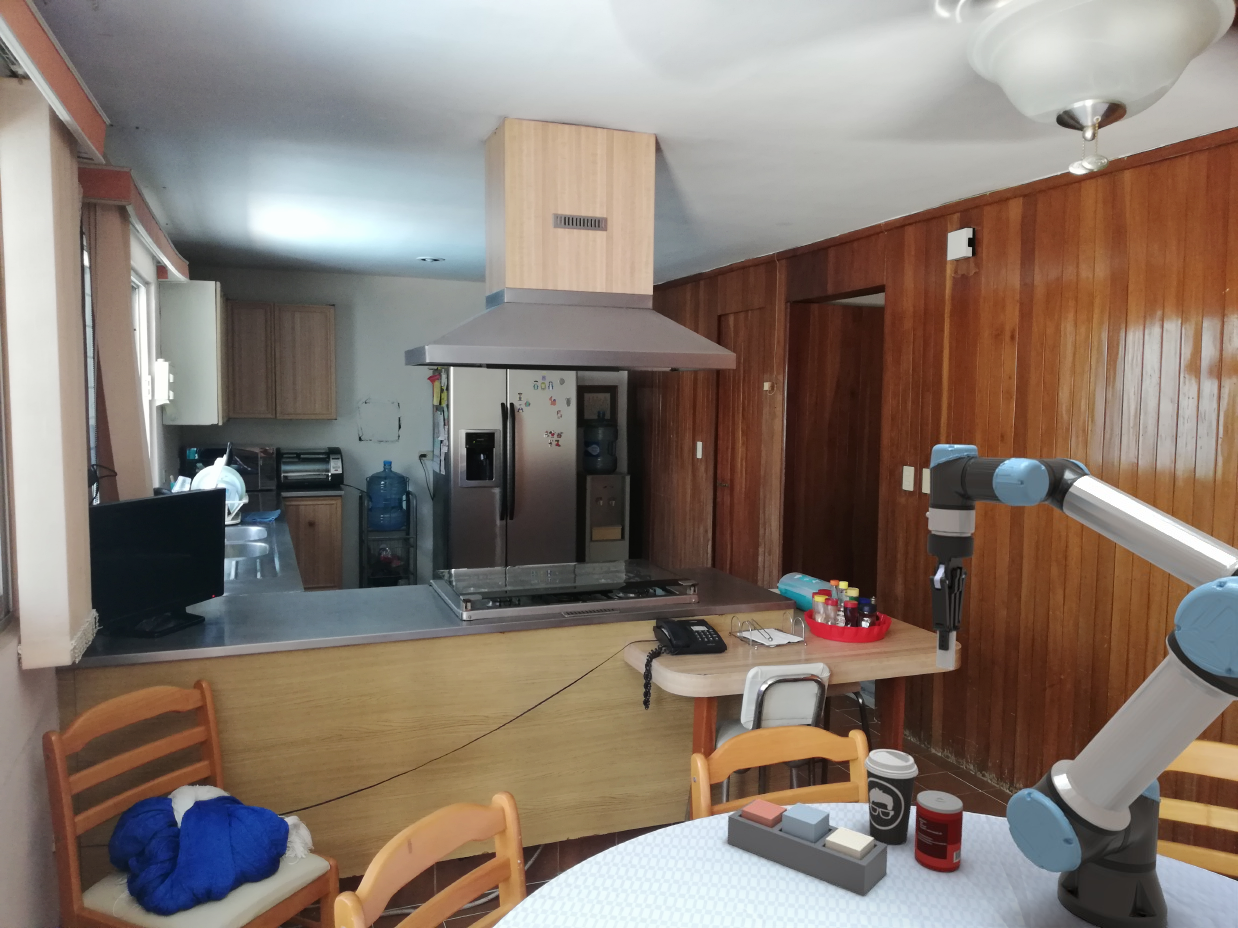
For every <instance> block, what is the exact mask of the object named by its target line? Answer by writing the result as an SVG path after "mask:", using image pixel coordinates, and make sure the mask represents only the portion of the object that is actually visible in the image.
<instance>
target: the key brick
mask: <svg viewBox="0 0 1238 928" xmlns="http://www.w3.org/2000/svg"><path fill="white" fill-rule="evenodd" d="M754 800H755V801H754V802H752V801H751V802H752V803H751V804H749V805H747V804H746V805H747V806H746V807H744V806H743V807H744V808H743V809H742V812H741V817H742V818H744V819H747V820H750V821H753V822H755V823H758V824H761V825H764V826H767V827H769V828H773V827H775V826H776V825H777V824H779V823H780V822H782V814H783V813H784V812H786V811H787V810H788V808H787V807H784V806H781V805H779V804H776V803H772V802H769V801H767V800H764V799H761V798H757V799H754Z"/></svg>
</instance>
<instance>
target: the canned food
mask: <svg viewBox="0 0 1238 928" xmlns="http://www.w3.org/2000/svg"><path fill="white" fill-rule="evenodd" d="M963 806H964V804H963V801H962V800H961V799H960V798H959V797H957V796H955V795H953V794H951V793H947V792H944V791H940V790H939V791H938V790H923V791H920V792H919V793H918V794H917V796H916V805H915V807H916V808H915V824H914V825H915V827H914V828H915V829H914V831H915V833H914V855H915V859H916V861H917V862H918V863H919V864H920V865H921V866H923V867H924V868H927V869H929V870H932V871H936V872H942V873H943V872H944V873H946V872H953V871H956V870H958V868H959V867H960V864H961V860H962V857H961V856H962V840H963V839H962V837H963V818H964V817H963V816H964V807H963Z"/></svg>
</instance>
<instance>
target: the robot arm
mask: <svg viewBox="0 0 1238 928" xmlns="http://www.w3.org/2000/svg"><path fill="white" fill-rule="evenodd" d="M978 453H979V452H978V447H977V446H976V445H972V444H969V445H968V444H945V443H944V444H936V445H935V446H933V448H932V450H931V456H930V465H929V469H928V470H929V503H928V511H927V512H926V513H925V517H926V518H928V520H927V521H928V523H927V524H928V527H927V529H928V530H929V531H931V532H929V533H928V534H927V538H926V539H927V541H926V552H927V554H929V555H931V556H935V557H936V559H937V560H936V564H935V566H934V570H933V575H930V576H929V584H930V589H931V614H932V617H931V618H932V626H931V630H932V631H936V633H937V634H936V655H935V656H936V657H935V660H936V661H935V668H940V669H943V670H944V669H945V670H950V671H952V670H954V669H955V665H956V662H955V661H956V644H957V643H956V642H957V641H956V640H957V631H958V632H962V630H963V628H962V626H960V625H961V623H962V614H963V612H962V611H963V604H964V597H965V596H964V595H965V587H966V582H967V581H966V580H967V576H968V570H967V569H965V567H964V565H963V559H969V558H972V557H973V556H974V551H975V549H974V547H975V546H974V545H975V537H974V536H973V535H972V534H973V533H974V532H976V531H975V530H976V529H975V527H976V525H975V524H976V502H982V503H983V502H984V503H992V504H998V505H999V504H1001V505H1009V506H1011V507H1016V506H1017V507H1024V506H1026V507H1032V506H1036V505H1038V504H1046V505H1049V506H1050V507H1052V508H1054V509H1056V510H1058V511H1059V512H1060V513H1063V514H1065V515H1067V516H1068V517H1071V518H1072V519H1074V520H1075V521H1078V522H1080V523H1081V524H1082V525H1085V526H1086V527H1088V528H1090V529H1091V530H1093V531H1095V532H1097V533H1098V534H1100V535H1102V536H1104V537H1106V538H1107V539H1108V540H1111V541H1112V542H1114V543H1116V544H1118V545H1120V546H1121V547H1123V548H1124V549H1126V550H1128V551H1130V552H1131V553H1133V554H1135V555H1137V556H1139V557H1140V558H1142V559H1144V560H1146V561H1148V562H1149V563H1151V564H1153V565H1154V566H1156V567H1158V568H1159V569H1162V570H1163V571H1165V572H1167V573H1169V574H1170V575H1172V576H1173V577H1176V578H1177V579H1179V580H1181V581H1183V582H1184V583H1186V584H1188V585H1189V586H1191V587H1192V588H1194V589H1192V590H1191V591H1190V592H1188V594H1186V596H1185V597H1184V598H1183V599H1182V600H1181V602H1180V603H1179V605H1178V607H1177V609H1176V612H1175V615H1174V621H1173V622H1174V625H1175V626H1174V628H1173V629H1172V630H1171V631H1170V632H1169V634H1168V635H1167V636H1166V638H1165V643H1166V647H1167V650H1168V655H1166V657H1165V658H1164V659H1163V660H1162V661H1161V663H1160V664H1159V665H1158V666H1157V667H1155V670H1153V671H1152V672H1151V673H1150V675H1149V676H1148V677H1147V678H1146V679H1145V680H1144V681H1143V683H1142V684H1141V685H1140V686H1139V687H1138V688H1137V690H1135V692H1134V693H1133V694H1132V695H1131V696H1130V697H1129V698H1128V699H1127V701H1125V703H1124V704H1123V705H1122V706H1121V707H1120V708H1119V709H1118V710H1117V711H1116V712H1115V714H1114V715H1113V716H1112V717H1111V718H1110V719H1109V720H1108V721H1107V723H1105V725H1104V726H1103V727H1102V728H1101V729H1100V730H1099V732H1098V733H1097V734H1096V735H1095V736H1094V737H1093V738H1092V739H1091V740H1090V742H1089V743H1088V744H1087V745H1086V746H1085V747H1084V749H1083V750H1082V751H1081V752H1080V753H1079V754H1078V755H1077V756H1076V758H1074V759H1061V760H1058V761H1057V762H1055V763H1054V764H1053V765H1052V767H1050V769H1049V770H1048V771H1047V772H1046V773H1045V775H1044V776H1043V777H1041V779H1040V780H1039V781H1038V782H1037V783H1036V784H1035V785H1033V786H1032V787H1030V788H1029V787H1028V788H1023V789H1021V790H1019V791H1017V793H1015V794H1013V795H1012V797H1010V799H1009V801H1008V803H1007V806H1006V822H1007V823H1008V825H1009V826H1008V830H1009V834H1010V835H1011V838H1012V840H1013V842H1014V843H1015V845H1016V847H1017V848H1018V849H1019V851H1020V852H1021V853H1022V854H1023V856H1024V857H1025V858H1026V859H1027V860H1028V861H1030V862H1031V863H1032V864H1033V865H1034V866H1036V867H1038V868H1039V869H1042V870H1045V871H1048V872H1050V873H1059V876H1058V879H1057V892H1056V895H1057V898H1058V899H1059V902H1060V903H1061V904H1062V905H1063V906H1064V907H1065V908H1066V910H1068V911H1070V912H1071V914H1072V913H1073V914H1074V915H1075V916H1077V917H1079V918H1080V919H1082V920H1084V921H1086V922H1088V923H1091V924H1093V925H1095V926H1098V927H1100V928H1166V927H1167V926H1168V925H1167V924H1168V906H1167V902H1166V900H1165V896H1164V893H1163V890H1162V889H1163V888H1162V887H1161V883H1160V880H1159V876H1158V873H1157V855H1158V842H1159V841H1158V837H1159V825H1160V824H1159V822H1160V821H1159V820H1160V805H1161V802H1162V799H1161V798H1160V797H1161V796H1160V782H1159V781H1158V779H1157V778H1158V777H1159V776H1160V775H1161V774H1163V772H1165V770H1166V769H1167V768H1168V767H1170V765H1172V763H1173V762H1174V761H1175V760H1176V759H1177V758H1178V757H1179V756H1180V755H1181V754H1183V752H1184V751H1185V750H1186V749H1187V748H1188V747H1189V746H1190V745H1191V744H1192V743H1193V742H1194V741H1195V740H1196V739H1197V738H1198V737H1199V736H1200V735H1201V734H1202V733H1203V732H1204V731H1205V730H1206V729H1207V728H1208V727H1210V725H1211V724H1212V723H1213V722H1214V721H1215V720H1216V719H1217V718H1218V717H1219V716H1220V715H1221V714H1222V713H1223V712H1224V711H1225V710H1226V709H1227V708H1228V707H1229V706H1230V705H1231V704H1232V703H1233V701H1238V549H1237V548H1235V547H1234V546H1231V545H1229V544H1227V543H1225V542H1224V541H1222V540H1219V539H1217V538H1215V537H1213V536H1212V535H1210V534H1208V533H1206V532H1204V531H1202V530H1199V529H1197V528H1196V527H1194V526H1192V525H1190V524H1187V522H1185V521H1183V520H1180V519H1178V518H1176V517H1174V516H1172V515H1170V514H1168V513H1166V512H1164V511H1162V510H1160V509H1159V508H1156V507H1155V506H1153V505H1151V504H1148V503H1146V502H1145V501H1142V500H1141V499H1139V498H1136V497H1134V496H1133V495H1131V494H1129V493H1127V492H1124V491H1123V490H1121V489H1119V488H1117V487H1115V486H1113V485H1112V484H1109V483H1107V482H1105V481H1103V480H1101V479H1099V478H1097V477H1095V476H1093V475H1091V473H1090V471H1089V470H1088V468H1087V467H1086V465H1084V464H1083V463H1082V462H1080V461H1078V460H1074V459H1069V458H1066V457H1065V458H1063V457H1062V458H1061V457H1055V458H1029V457H1028V458H1025V457H983V456H979V454H978ZM958 625H959V626H958Z"/></svg>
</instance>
